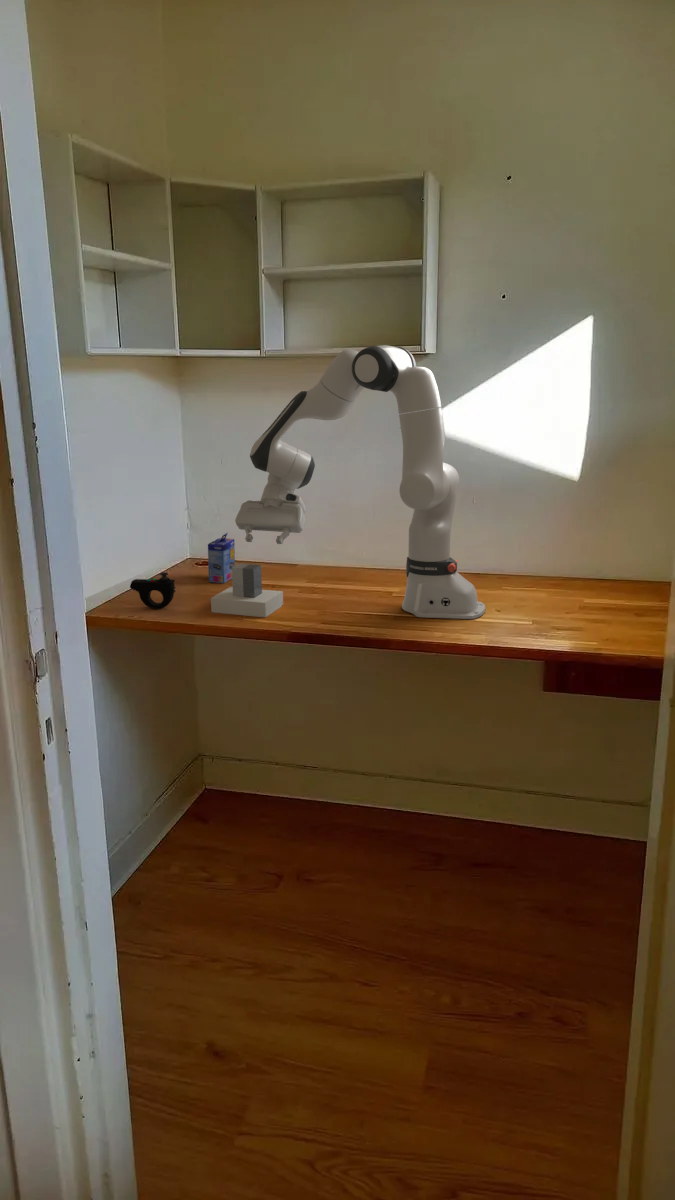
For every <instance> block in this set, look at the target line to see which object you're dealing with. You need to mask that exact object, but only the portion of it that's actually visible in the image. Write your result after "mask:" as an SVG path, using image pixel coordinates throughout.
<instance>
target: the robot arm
mask: <svg viewBox="0 0 675 1200" xmlns="http://www.w3.org/2000/svg"><path fill="white" fill-rule="evenodd" d="M364 388H365V389H368V390H371V391H377V392H384V393H388V392H391V393H393V395H394V396H395V398H396V403H397V411H398V414H399V415H398V416H399V417H398V418H399V424H400V431H401V438H402V439H401V440H402V468H401V469H402V473H401V474H402V475H401V482H400V483H399V495H400V498H401V501H402V502H403V504H405V505H406V506H407V507H408V508H410V509H412V510H413V513H412V518H411V523H410V525H409V528H408V556H407V557H406V562H405V563H406V565H405V573H406V578H407V579H406V585H405V586H406V587H405V593H404V599H403V602H402V604H401V608H402V610H403V611H405V612H408V613H411V614H412V615H414V616H415V617H417V618H429V619H430V618H431V619H432V618H433V619H434V618H435V619H458V620H459V619H464V620H467V619H468V620H474V619H477V618H480V617H481V616H483V615H484V613H485V612H486V605H485V604H484V603H483V602H482V601H478V594H477V589H476V588H475V585H474V584H472V582H470V581H469V580H467V579H466V578H465V577H464V576H463V575H461V574H460V573H459V572H458V559H453V558H452V557H451V555H450V554H451V533H452V532H451V529H452V523H453V517H454V513H455V506H456V501H457V500H456V499H457V494H458V490H459V486H460V475H459V473H458V470H457V469H456V468H455V467H454V466H453V465H451V464H449V463H446V462H444V447H445V442H446V432H445V431H446V430H445V423H444V417H443V415H444V414H443V408H442V403H441V396H440V392H439V389H438V385H437V382H436V379H435V375H434V373H433V372H432V371H431V369H429V368H427V367H425V366H417V363H416V359H415V356H413V354H412V353H411V352H410V351H409V350H407V349H406V348H405V347H402V346H396V345H395V346H394V345H393V346H391V345H388V344H382V345H372V346H371V345H370V346H367V347H365V348H362V349H361V350H360V351H357V350H355V349H344V350H342V351H340V352H339V353H338V354H337V355H336V356H335V358H334V359H333V360H332V362H330V364H329V365H328V367H327V368H326V369H325V370H324V373H323V374H322V376H321V378H320V380H319V381H318V382H317V383H316V385H314V386H313V387H311V388H310V389H308V390H302V391H300V392H298V393H297V394H296V395H295V396H294V397H293V398H292V399H291V400H290V401H289V403H287V405H286V406H285V408H283V410H282V411H281V412H280V413H279V414H278V416H277V417H276V419H275V420H274V421H273V422H272V423H271V424H270V425H269V427H268V428H267V429H266V430H265V431H264V433H262V435H260V437H258V439H257V440H256V441H255V442H254V443H253V445H252V447H251V450H250V454H249V458H250V461H251V463H252V465H253V467H254V468H255V469H257V470H259V471H262V472H264V473H266V472H267V473H268V476H267V483H266V484H265V486H264V489H263V490H262V491H263V492H262V495H261V497H260V500H247V501H245V502H243V503H242V504H241V505H240V509H239V510H238V513H237V515H236V517H235V520H234V521H235V524H236V526H237V528H238V529H239V530H241V531H242V530H243V531H244V532H245V533H246V534H245V535H246V536H245V539H244V540H245V542H246V543H253V540H254V535H253V534H251V533H252V532H253V531H262V532H276V533H277V532H278V533H281V534H280V535H277V536H276V539H275V542H276V544H277V545H283V544H284V541H285V539H286V538H288V537H289V536H290V533H294V534H296V533H297V534H300V533H302V532H303V531H304V529H305V524H306V511H307V508H306V505H305V502H304V501H303V499H302V498H301V496H300V495H297V494H294V491H295V490H299V489H301V488H303V487H305V486H307V485H309V483H310V481H311V480H312V478H313V474H314V471H315V468H316V464H315V461H314V457H313V456H312V454H309V453H308V452H305V451H303V450H302V449H300V448H298V447H295V446H293V445H291V444H289V443H287V442H284V441H282V438H283V437H284V435H285V434H286V433H287V431H289V429H291V427H292V425H293V424H295V422H298V421H299V420H305V419H309V420H310V419H313V420H321V421H335V420H338V419H341V418H343V417H345V416H346V415H347V414H348V413H349V411H350V410H351V409H352V408H353V406H354V405H355V403H356V401H357V399H358V397H359V396H360V394H361V392H362V391H363V390H364Z"/></svg>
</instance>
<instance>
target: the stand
mask: <svg viewBox="0 0 675 1200" xmlns="http://www.w3.org/2000/svg"><path fill="white" fill-rule="evenodd" d="M283 594H284V591H283V590H281V591H280V590H272V589H271V590H269V589H262V594H260V595H258V596H257V597H255V598H249V597H237V596H233V586H230V587H228V588H226V589H224V590H223V591H221V592H219V593H217V594H215V595H214V596H212V597H211V598H210V604H211V605H210V609H211V613H215V614H225V615H236V616H237V615H238V616H248V617H255V618H256V617H258V618H267V617H269V616H270V615H271V614H273V613H274V612H276V611H278V610H279V609H280V608H281V607H283V606H284V595H283ZM282 605H283V606H282Z"/></svg>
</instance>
